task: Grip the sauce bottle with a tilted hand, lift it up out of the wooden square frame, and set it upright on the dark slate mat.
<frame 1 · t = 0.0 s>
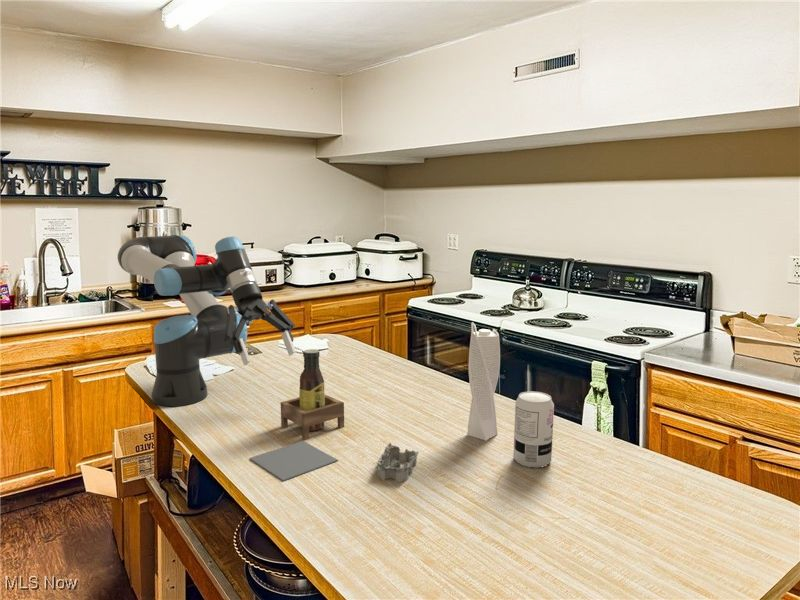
hand: (270, 358, 157), 15 cm above the countertop, tool tilted 35°, fingers open, 13 cm apart
sauce bottle: (312, 427, 151), on the countertop
supplement can: (532, 461, 132), on the countertop
egg carton: (397, 471, 128), on the countertop
skyscraper: (481, 435, 146), on the countertop
wooden square frame: (312, 426, 151), on the countertop
slate mat: (293, 460, 132), on the countertop
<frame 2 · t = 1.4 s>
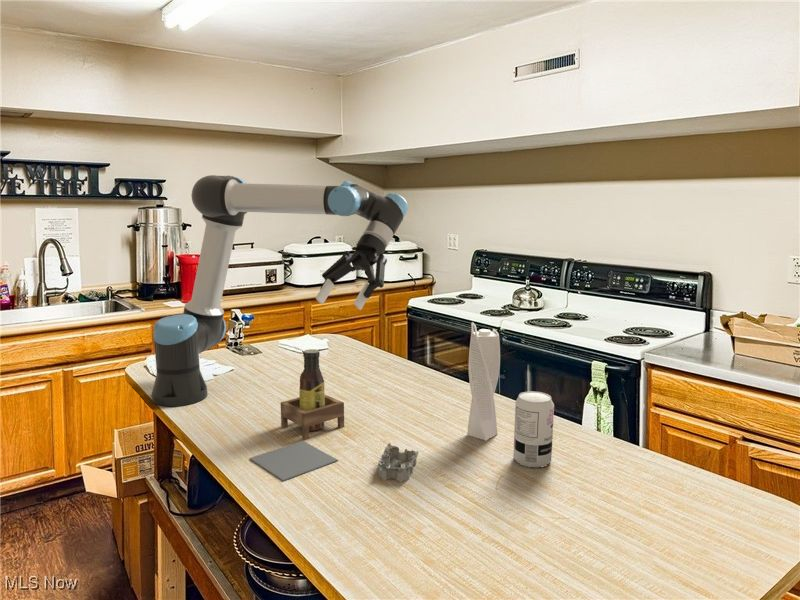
hand: (337, 304, 153), 30 cm above the countertop, tool tilted 45°, fingers open, 13 cm apart
nothing on the countertop moved.
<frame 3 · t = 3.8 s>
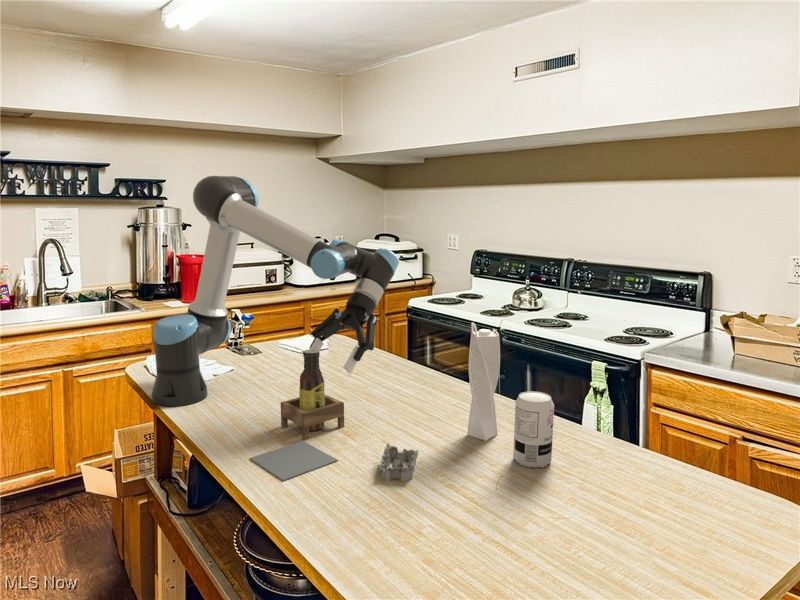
hand: (327, 366, 151), 15 cm above the countertop, tool tilted 45°, fingers open, 13 cm apart
nothing on the countertop moved.
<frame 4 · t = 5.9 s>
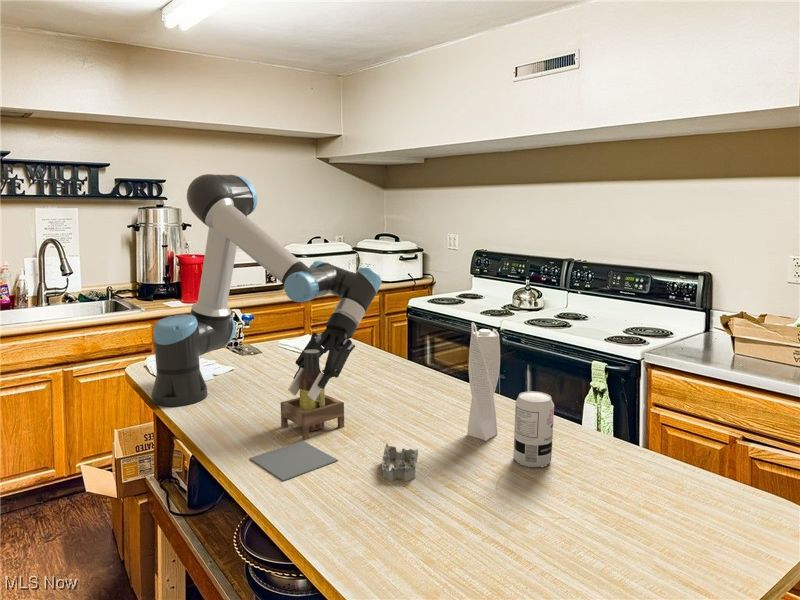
hand: (301, 395, 146), 9 cm above the countertop, tool tilted 45°, fingers closed on sauce bottle, 6 cm apart
sauce bottle: (312, 427, 151), on the countertop, touching gripper
everything else where it was.
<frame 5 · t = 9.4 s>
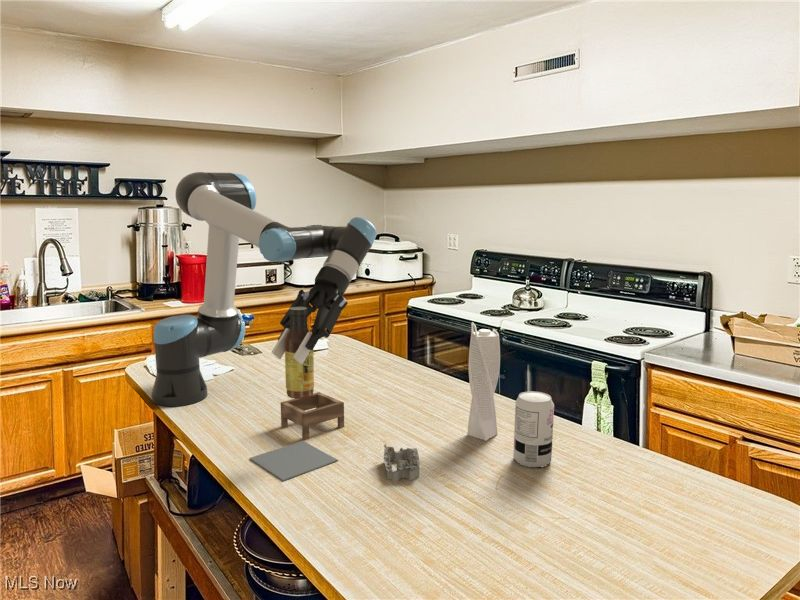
hand: (286, 358, 128), 23 cm above the countertop, tool tilted 45°, fingers closed on sauce bottle, 6 cm apart
sauce bottle: (300, 395, 133), point 14 cm above the countertop, touching gripper
when the fingers open (11 cm above the countertop, at t = 12.5 s): sauce bottle moves 1 cm, resting on slate mat.
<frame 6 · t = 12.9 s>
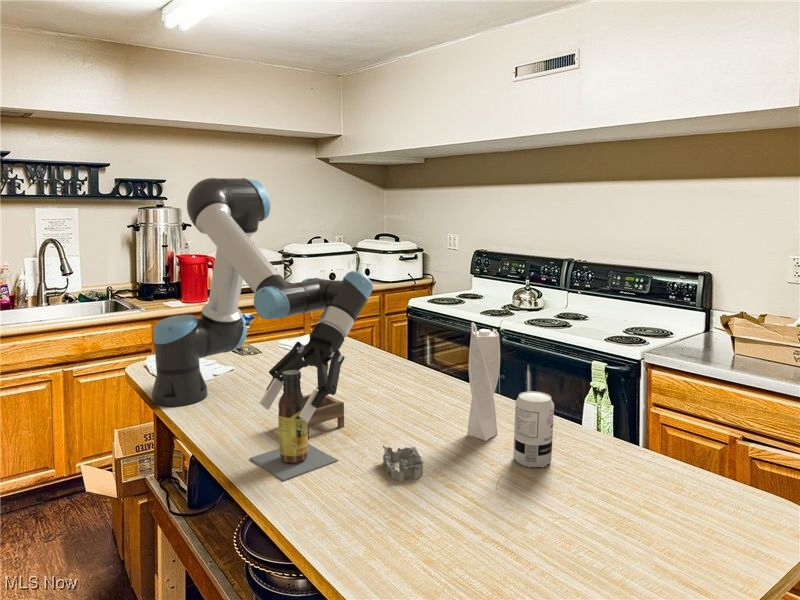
hand: (283, 412, 128), 12 cm above the countertop, tool tilted 45°, fingers open, 12 cm apart
sauce bottle: (294, 459, 132), resting on slate mat
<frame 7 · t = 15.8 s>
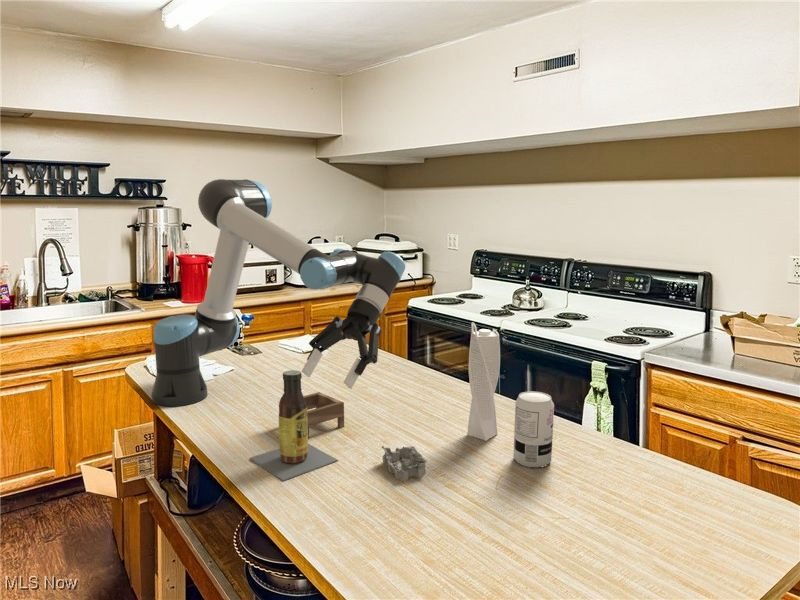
hand: (325, 379, 138), 16 cm above the countertop, tool tilted 45°, fingers open, 13 cm apart
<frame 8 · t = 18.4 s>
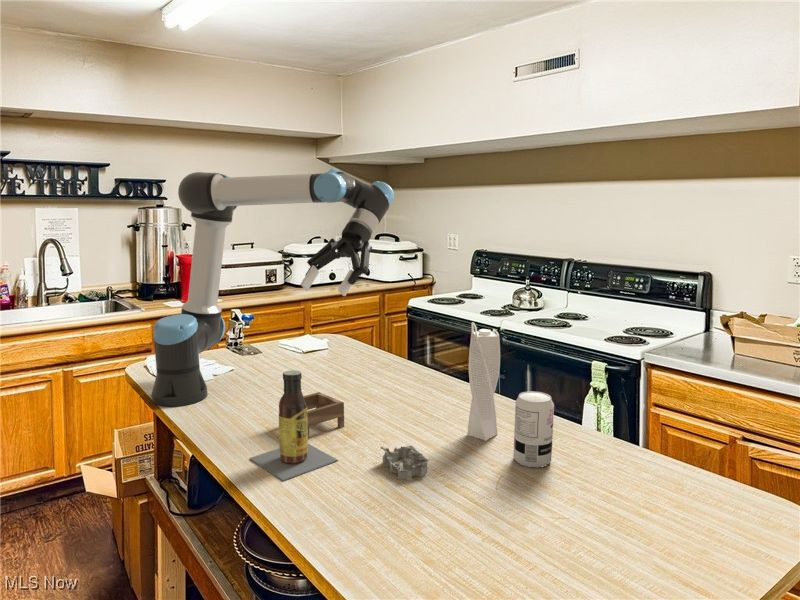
hand: (322, 290, 154), 34 cm above the countertop, tool tilted 45°, fingers open, 13 cm apart
at the end: sauce bottle inside the target area on the slate mat (0.2 cm from its centre), point 0.1 cm above the slate mat's base; sauce bottle tilted 0°; the gripper is holding nothing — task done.
